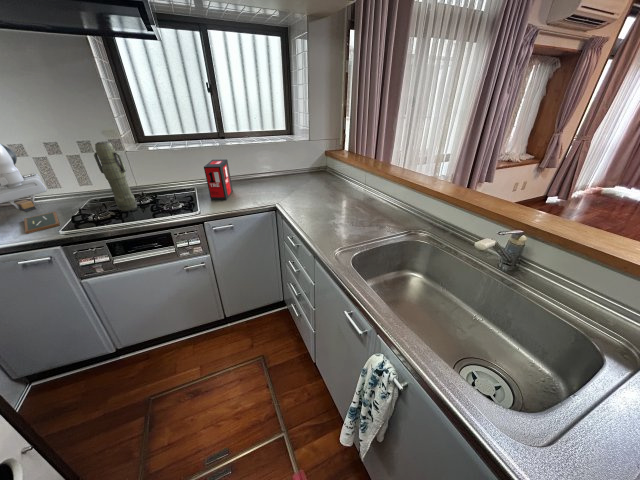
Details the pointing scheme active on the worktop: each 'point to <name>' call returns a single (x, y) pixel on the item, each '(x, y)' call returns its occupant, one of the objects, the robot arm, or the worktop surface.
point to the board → (41, 222)
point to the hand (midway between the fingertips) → (26, 206)
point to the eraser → (26, 205)
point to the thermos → (115, 175)
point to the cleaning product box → (218, 179)
